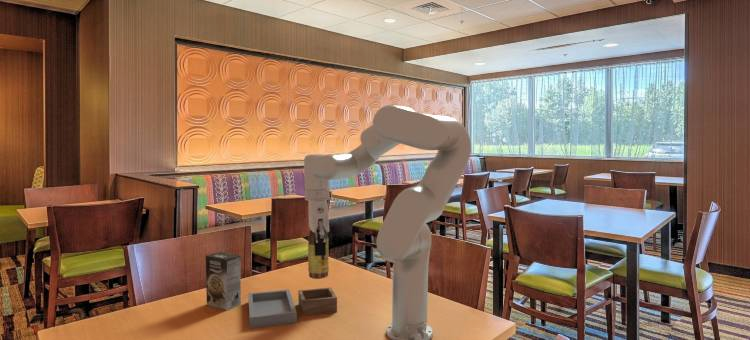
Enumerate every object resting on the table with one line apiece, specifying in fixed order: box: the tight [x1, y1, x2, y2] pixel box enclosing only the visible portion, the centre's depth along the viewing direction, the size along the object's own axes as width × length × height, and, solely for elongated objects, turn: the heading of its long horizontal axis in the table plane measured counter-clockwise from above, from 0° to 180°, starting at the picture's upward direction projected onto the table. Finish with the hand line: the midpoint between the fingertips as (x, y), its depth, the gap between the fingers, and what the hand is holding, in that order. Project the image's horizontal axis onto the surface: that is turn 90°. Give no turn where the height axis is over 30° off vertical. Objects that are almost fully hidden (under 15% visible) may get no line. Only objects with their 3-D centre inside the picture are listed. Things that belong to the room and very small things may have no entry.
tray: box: [247, 288, 298, 329], centre depth 134 cm, size 20×13×3 cm, turn 17°
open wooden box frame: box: [298, 287, 338, 317], centre depth 137 cm, size 10×10×4 cm
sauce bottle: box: [307, 228, 330, 280], centre depth 135 cm, size 6×6×20 cm
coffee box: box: [205, 251, 242, 311], centre depth 139 cm, size 9×6×16 cm
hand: (318, 251), depth 136 cm, fingers closed on sauce bottle, 6 cm apart
